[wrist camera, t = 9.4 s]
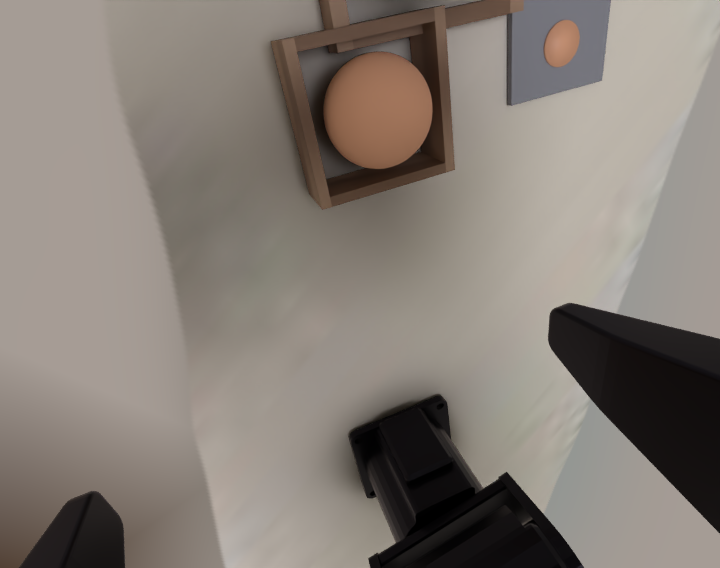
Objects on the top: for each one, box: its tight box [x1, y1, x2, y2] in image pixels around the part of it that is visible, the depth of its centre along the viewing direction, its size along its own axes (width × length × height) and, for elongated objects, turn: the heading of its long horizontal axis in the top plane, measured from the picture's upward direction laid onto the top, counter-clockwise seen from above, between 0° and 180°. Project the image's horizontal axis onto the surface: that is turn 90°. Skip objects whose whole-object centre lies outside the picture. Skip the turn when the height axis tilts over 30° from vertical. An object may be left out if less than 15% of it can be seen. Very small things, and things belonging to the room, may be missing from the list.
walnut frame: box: [271, 5, 455, 210], centre depth 17 cm, size 6×6×2 cm
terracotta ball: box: [323, 52, 433, 169], centre depth 16 cm, size 4×4×4 cm
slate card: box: [507, 0, 611, 106], centre depth 18 cm, size 7×5×1 cm
